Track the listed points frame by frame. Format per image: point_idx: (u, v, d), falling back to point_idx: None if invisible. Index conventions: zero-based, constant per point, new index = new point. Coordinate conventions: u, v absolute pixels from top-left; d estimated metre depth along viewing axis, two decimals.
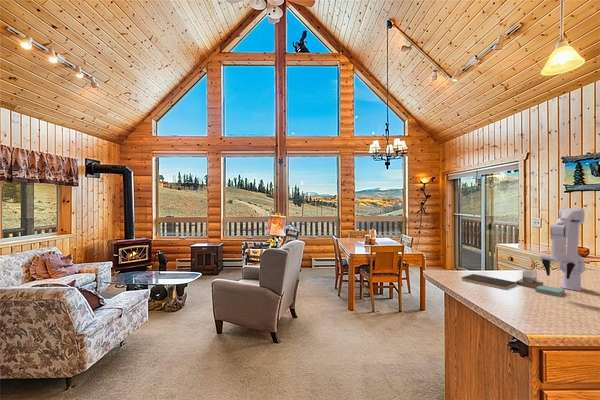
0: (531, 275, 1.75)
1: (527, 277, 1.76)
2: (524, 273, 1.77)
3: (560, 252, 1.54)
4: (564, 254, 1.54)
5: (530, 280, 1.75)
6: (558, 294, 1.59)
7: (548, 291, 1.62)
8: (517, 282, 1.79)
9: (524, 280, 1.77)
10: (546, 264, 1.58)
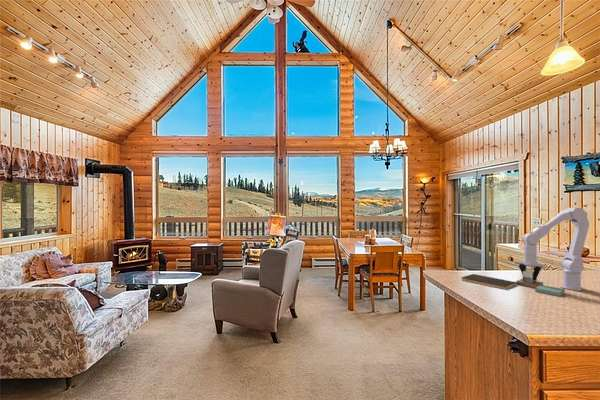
0: (531, 275, 1.75)
1: (527, 277, 1.76)
2: (524, 273, 1.77)
3: (531, 257, 1.76)
4: (534, 259, 1.76)
5: (530, 280, 1.75)
6: (558, 294, 1.59)
7: (548, 291, 1.62)
8: (517, 282, 1.79)
9: (524, 280, 1.77)
10: (522, 268, 1.80)
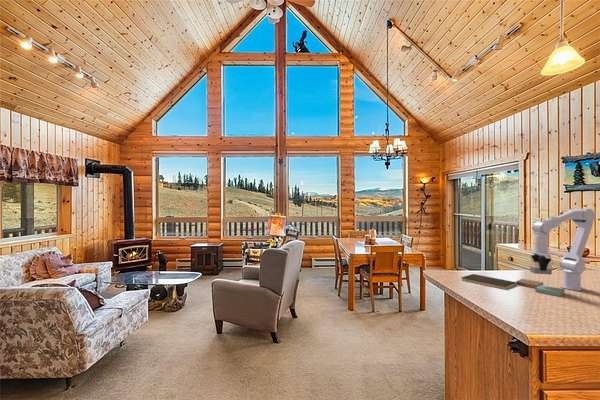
0: (534, 265, 1.70)
1: (532, 267, 1.72)
2: (531, 263, 1.74)
3: (537, 246, 1.71)
4: (541, 248, 1.69)
5: (533, 270, 1.71)
6: (558, 294, 1.59)
7: (548, 291, 1.62)
8: (517, 282, 1.79)
9: (531, 270, 1.73)
10: (533, 258, 1.75)
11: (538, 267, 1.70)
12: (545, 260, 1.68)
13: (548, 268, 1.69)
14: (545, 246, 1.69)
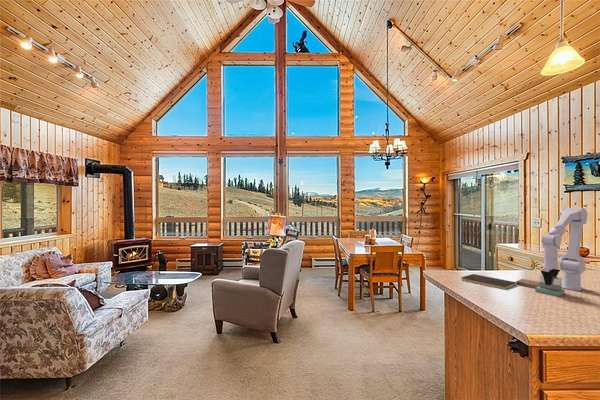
0: (540, 279, 1.67)
1: None
2: None
3: None
4: (546, 261, 1.65)
5: None
6: (558, 294, 1.59)
7: (548, 291, 1.62)
8: (517, 282, 1.79)
9: None
10: None
11: (543, 281, 1.65)
12: (549, 274, 1.62)
13: (555, 284, 1.62)
14: (550, 259, 1.63)
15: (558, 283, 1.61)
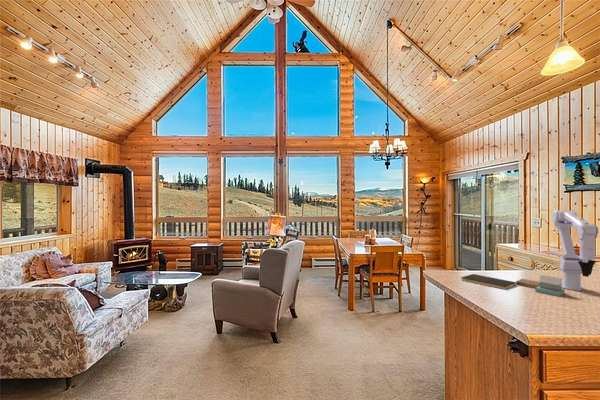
0: (540, 279, 1.67)
1: None
2: None
3: (580, 250, 1.61)
4: (583, 252, 1.59)
5: None
6: (558, 294, 1.59)
7: (548, 291, 1.62)
8: (517, 282, 1.79)
9: None
10: None
11: (543, 281, 1.65)
12: (587, 265, 1.57)
13: (555, 284, 1.62)
14: (588, 250, 1.58)
15: (558, 283, 1.61)
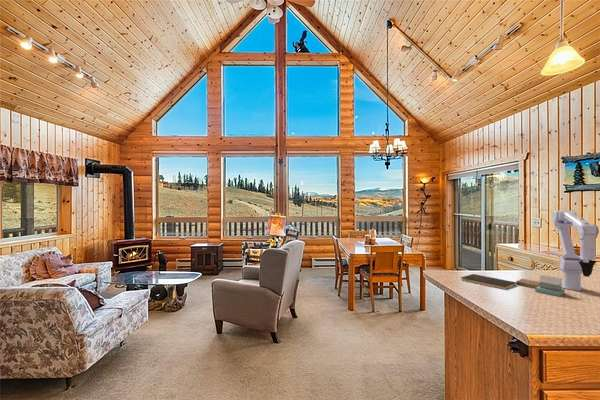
0: (540, 279, 1.67)
1: None
2: None
3: (580, 250, 1.61)
4: (583, 252, 1.59)
5: None
6: (558, 294, 1.59)
7: (548, 291, 1.62)
8: (517, 282, 1.79)
9: None
10: None
11: (543, 281, 1.65)
12: (588, 265, 1.56)
13: (555, 284, 1.62)
14: (588, 250, 1.58)
15: (558, 283, 1.61)
